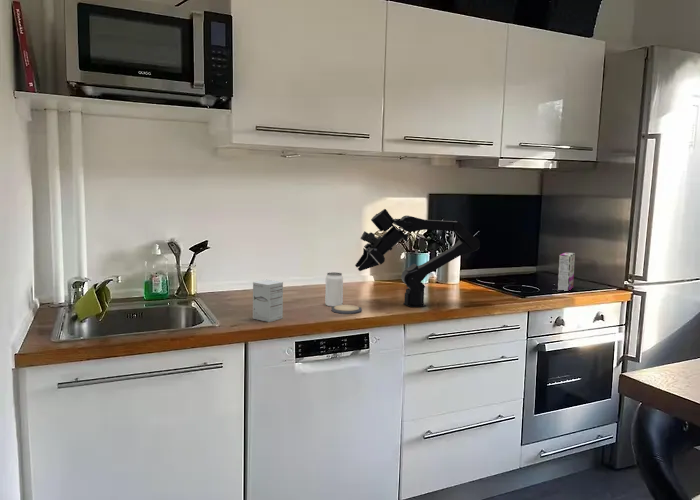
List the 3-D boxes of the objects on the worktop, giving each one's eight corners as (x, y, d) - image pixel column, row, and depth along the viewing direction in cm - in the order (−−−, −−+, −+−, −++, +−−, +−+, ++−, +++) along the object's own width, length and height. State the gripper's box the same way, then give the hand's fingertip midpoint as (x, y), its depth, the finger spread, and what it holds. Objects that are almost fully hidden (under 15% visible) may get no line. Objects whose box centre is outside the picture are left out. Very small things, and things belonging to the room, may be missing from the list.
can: (333, 302, 219) (333, 271, 218) (346, 305, 215) (346, 273, 214) (321, 305, 214) (322, 273, 213) (334, 307, 210) (335, 275, 209)
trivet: (354, 306, 213) (354, 303, 213) (366, 312, 203) (366, 309, 203) (327, 308, 209) (327, 305, 209) (338, 315, 199) (338, 311, 198)
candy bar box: (561, 287, 261) (564, 252, 259) (573, 288, 258) (575, 253, 256) (556, 291, 252) (558, 254, 250) (568, 292, 249) (570, 255, 247)
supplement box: (251, 319, 190) (251, 281, 189) (266, 315, 196) (267, 279, 195) (268, 322, 186) (268, 284, 185) (283, 318, 192) (283, 281, 191)
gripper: (371, 222, 221) (341, 249, 221) (378, 226, 202) (345, 255, 203) (389, 244, 223) (359, 270, 223) (398, 249, 204) (365, 278, 204)
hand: (357, 268), depth 213 cm, fingers open, 9 cm apart
